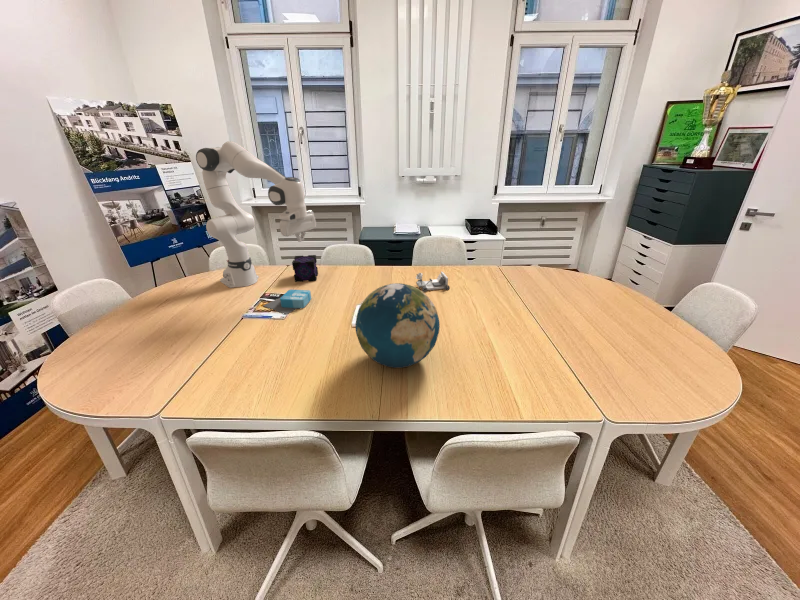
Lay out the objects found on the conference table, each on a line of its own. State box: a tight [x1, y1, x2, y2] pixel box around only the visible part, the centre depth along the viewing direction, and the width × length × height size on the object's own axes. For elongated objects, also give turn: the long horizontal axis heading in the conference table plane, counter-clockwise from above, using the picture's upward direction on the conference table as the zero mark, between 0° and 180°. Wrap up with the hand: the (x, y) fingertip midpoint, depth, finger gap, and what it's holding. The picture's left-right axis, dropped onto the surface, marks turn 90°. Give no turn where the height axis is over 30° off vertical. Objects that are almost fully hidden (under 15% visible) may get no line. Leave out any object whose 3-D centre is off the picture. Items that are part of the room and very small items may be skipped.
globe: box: [355, 282, 441, 369], centre depth 124 cm, size 30×30×30 cm
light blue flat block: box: [279, 289, 312, 309], centre depth 174 cm, size 12×4×12 cm
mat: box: [262, 297, 299, 315], centre depth 174 cm, size 17×13×1 cm
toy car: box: [415, 271, 450, 293], centre depth 190 cm, size 18×10×12 cm
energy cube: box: [291, 254, 319, 283], centre depth 204 cm, size 12×12×12 cm
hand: (301, 241), depth 173 cm, fingers closed
